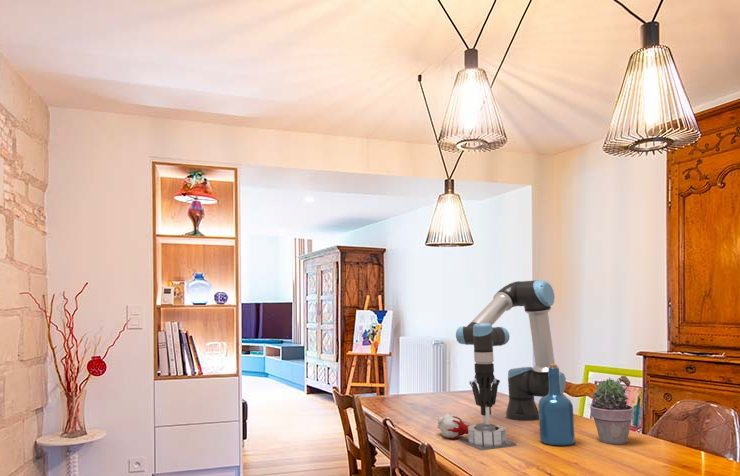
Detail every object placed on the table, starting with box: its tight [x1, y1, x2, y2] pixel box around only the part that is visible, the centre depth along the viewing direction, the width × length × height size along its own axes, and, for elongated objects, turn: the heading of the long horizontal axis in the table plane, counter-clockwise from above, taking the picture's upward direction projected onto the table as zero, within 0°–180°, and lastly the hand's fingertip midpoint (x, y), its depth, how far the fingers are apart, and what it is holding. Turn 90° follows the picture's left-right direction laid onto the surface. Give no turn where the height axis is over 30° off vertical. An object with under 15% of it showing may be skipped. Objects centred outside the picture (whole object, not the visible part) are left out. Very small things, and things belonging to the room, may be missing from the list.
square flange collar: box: [458, 423, 518, 451], centre depth 223 cm, size 16×16×6 cm
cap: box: [475, 422, 496, 431], centre depth 223 cm, size 8×8×6 cm
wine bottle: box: [537, 363, 576, 447], centre depth 223 cm, size 14×13×30 cm
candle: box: [437, 412, 470, 440], centre depth 233 cm, size 9×11×15 cm
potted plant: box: [586, 375, 634, 445], centre depth 223 cm, size 18×20×25 cm
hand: (486, 423), depth 223 cm, fingers closed
